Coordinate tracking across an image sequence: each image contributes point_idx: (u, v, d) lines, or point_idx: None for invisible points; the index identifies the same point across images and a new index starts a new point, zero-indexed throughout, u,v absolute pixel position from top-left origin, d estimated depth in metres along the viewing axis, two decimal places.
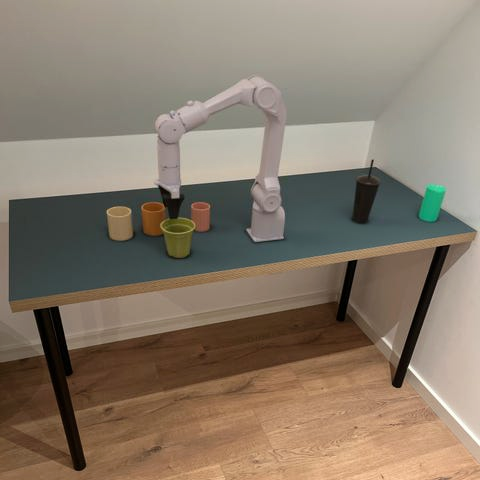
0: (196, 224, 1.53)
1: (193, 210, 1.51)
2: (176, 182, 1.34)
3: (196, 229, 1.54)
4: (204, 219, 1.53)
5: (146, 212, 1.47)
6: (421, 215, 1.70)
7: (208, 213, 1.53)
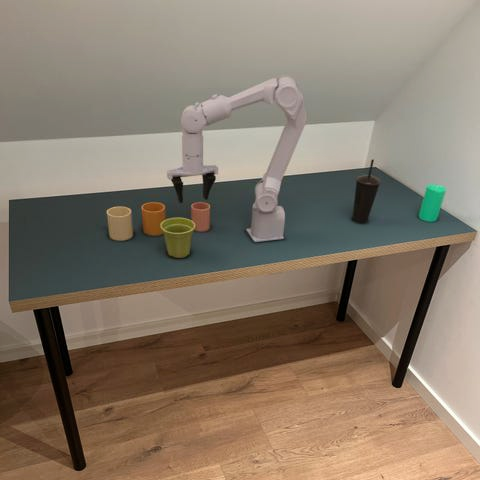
0: (196, 224, 1.53)
1: (193, 210, 1.51)
2: (185, 170, 1.40)
3: (196, 229, 1.54)
4: (204, 219, 1.53)
5: (146, 212, 1.47)
6: (421, 215, 1.70)
7: (208, 213, 1.53)
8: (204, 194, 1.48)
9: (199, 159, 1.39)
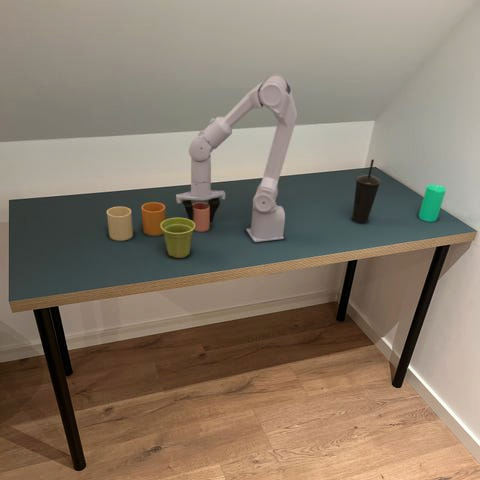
0: (196, 224, 1.53)
1: (193, 210, 1.51)
2: (193, 195, 1.48)
3: (196, 229, 1.54)
4: (204, 219, 1.53)
5: (146, 212, 1.47)
6: (421, 215, 1.70)
7: (208, 213, 1.53)
8: None
9: (206, 186, 1.46)
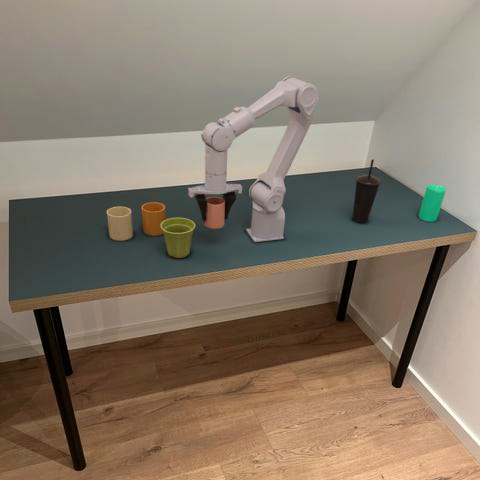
0: (210, 220, 1.40)
1: (207, 205, 1.38)
2: (207, 188, 1.35)
3: (210, 226, 1.41)
4: (219, 215, 1.40)
5: (146, 212, 1.47)
6: (421, 215, 1.70)
7: (223, 208, 1.40)
8: None
9: (221, 178, 1.33)
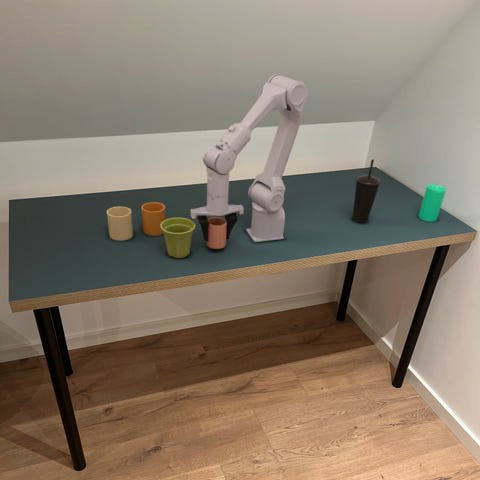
0: (212, 240, 1.42)
1: (209, 226, 1.40)
2: (209, 210, 1.37)
3: (212, 246, 1.43)
4: (220, 235, 1.41)
5: (146, 212, 1.47)
6: (421, 215, 1.70)
7: (225, 229, 1.41)
8: None
9: (223, 200, 1.35)
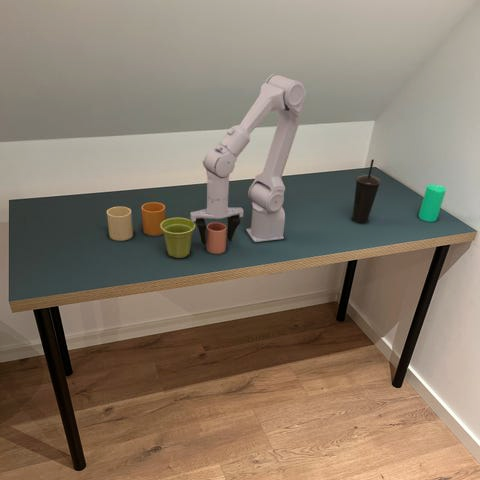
0: (212, 246, 1.43)
1: (208, 231, 1.41)
2: (209, 212, 1.38)
3: (212, 251, 1.44)
4: (220, 241, 1.42)
5: (146, 212, 1.47)
6: (421, 215, 1.70)
7: (225, 234, 1.42)
8: (228, 235, 1.45)
9: (223, 203, 1.36)
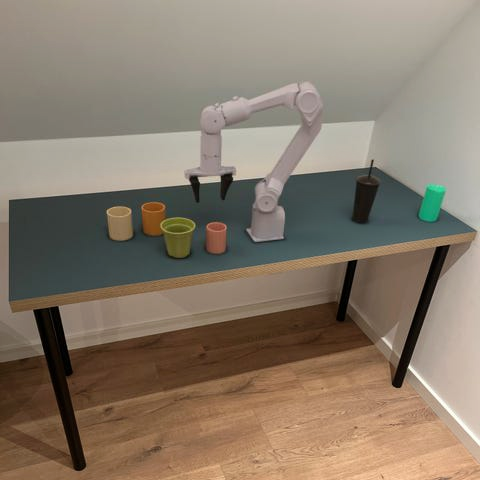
0: (212, 246, 1.43)
1: (208, 231, 1.41)
2: (203, 170, 1.41)
3: (212, 251, 1.44)
4: (220, 241, 1.42)
5: (146, 212, 1.47)
6: (421, 215, 1.70)
7: (225, 234, 1.42)
8: (222, 194, 1.48)
9: (216, 160, 1.39)
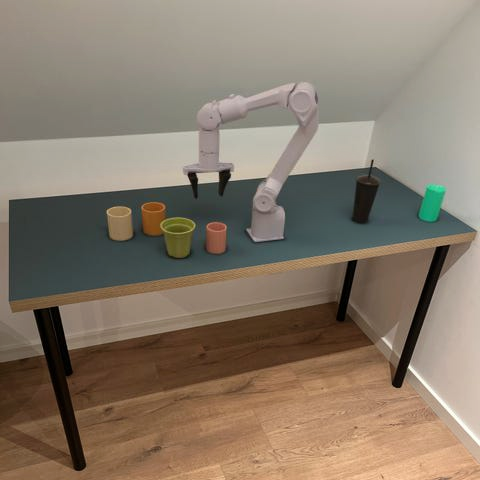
0: (212, 246, 1.43)
1: (208, 231, 1.41)
2: (201, 166, 1.43)
3: (212, 251, 1.44)
4: (220, 241, 1.42)
5: (146, 212, 1.47)
6: (421, 215, 1.70)
7: (225, 234, 1.42)
8: (220, 190, 1.50)
9: (214, 156, 1.41)
